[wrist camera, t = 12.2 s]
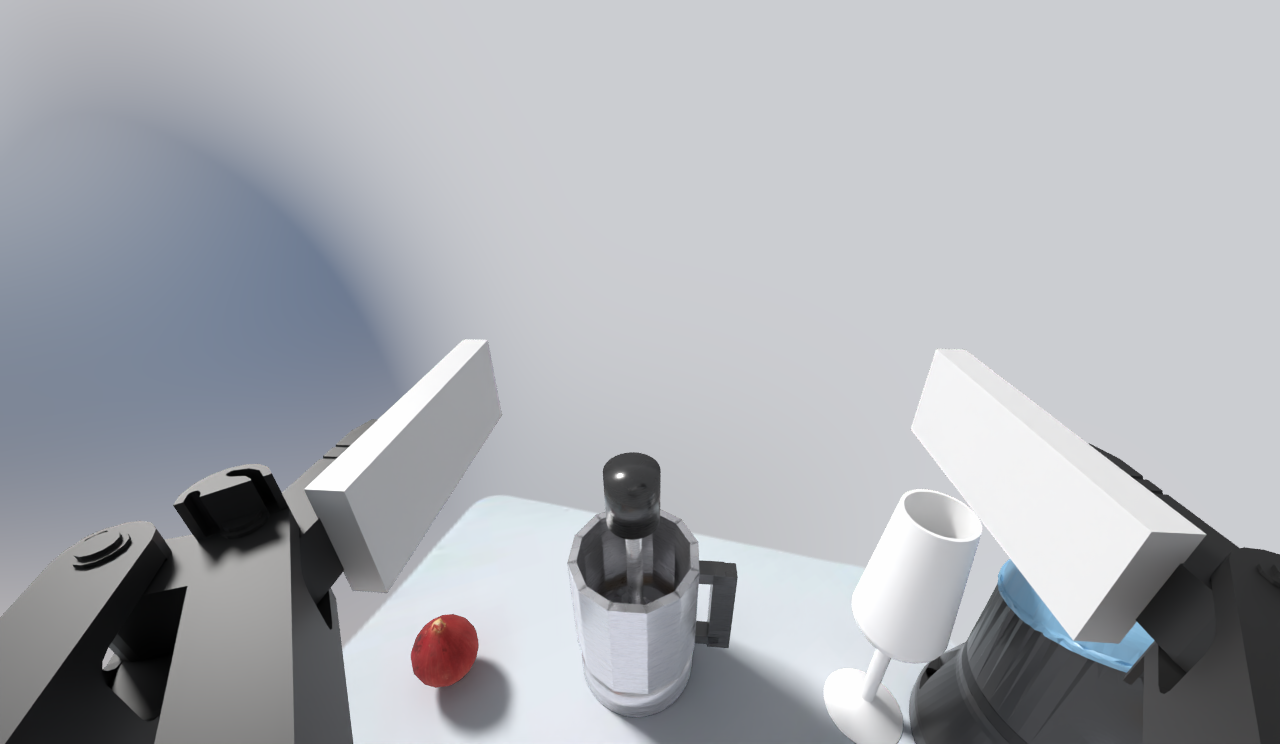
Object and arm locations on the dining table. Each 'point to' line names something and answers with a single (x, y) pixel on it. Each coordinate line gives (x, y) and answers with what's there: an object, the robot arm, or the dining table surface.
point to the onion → (444, 650)
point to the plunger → (633, 517)
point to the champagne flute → (904, 607)
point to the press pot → (645, 614)
